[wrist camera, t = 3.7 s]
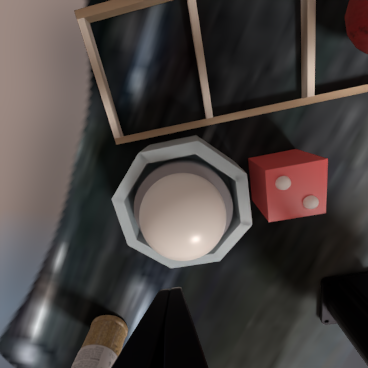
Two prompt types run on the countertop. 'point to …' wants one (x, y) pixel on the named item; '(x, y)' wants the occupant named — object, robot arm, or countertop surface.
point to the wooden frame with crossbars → (201, 67)
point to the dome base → (231, 190)
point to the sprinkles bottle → (102, 343)
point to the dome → (183, 208)
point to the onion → (357, 23)
